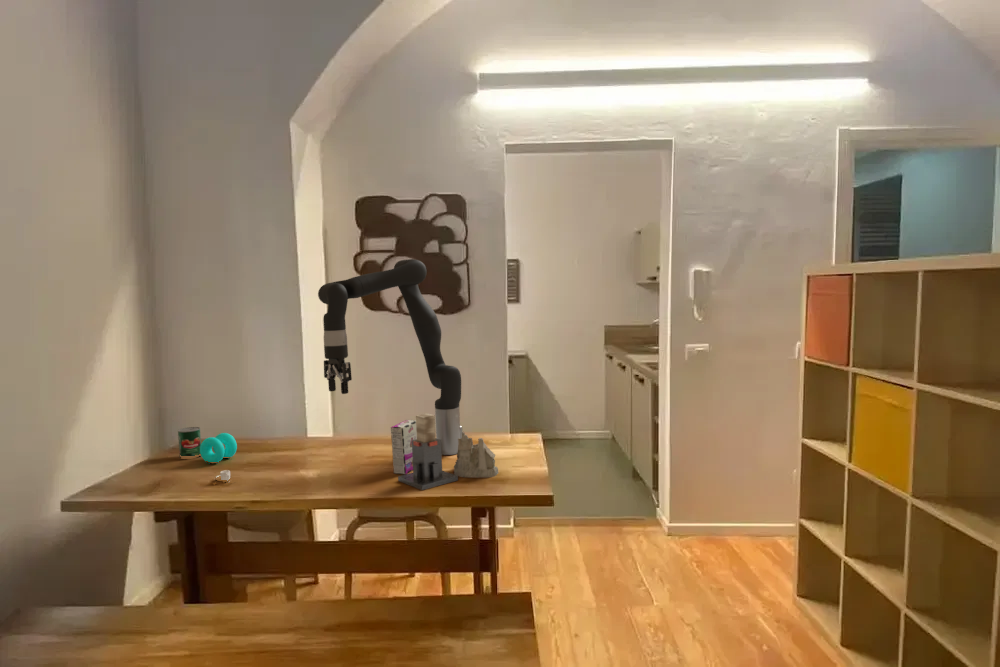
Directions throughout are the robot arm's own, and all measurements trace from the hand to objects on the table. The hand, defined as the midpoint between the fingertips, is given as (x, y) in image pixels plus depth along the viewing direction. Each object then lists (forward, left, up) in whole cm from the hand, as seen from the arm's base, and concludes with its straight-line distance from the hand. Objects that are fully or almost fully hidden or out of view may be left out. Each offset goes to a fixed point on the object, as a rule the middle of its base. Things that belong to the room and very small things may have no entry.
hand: (338, 392), depth 217 cm
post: (-18, +23, -28) cm, 41 cm away
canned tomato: (+29, -71, -29) cm, 82 cm away
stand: (-18, +23, -29) cm, 42 cm away
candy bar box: (-20, +7, -29) cm, 37 cm away
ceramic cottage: (-36, +26, -30) cm, 54 cm away
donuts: (+23, -56, -29) cm, 67 cm away
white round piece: (+28, -28, -30) cm, 49 cm away
